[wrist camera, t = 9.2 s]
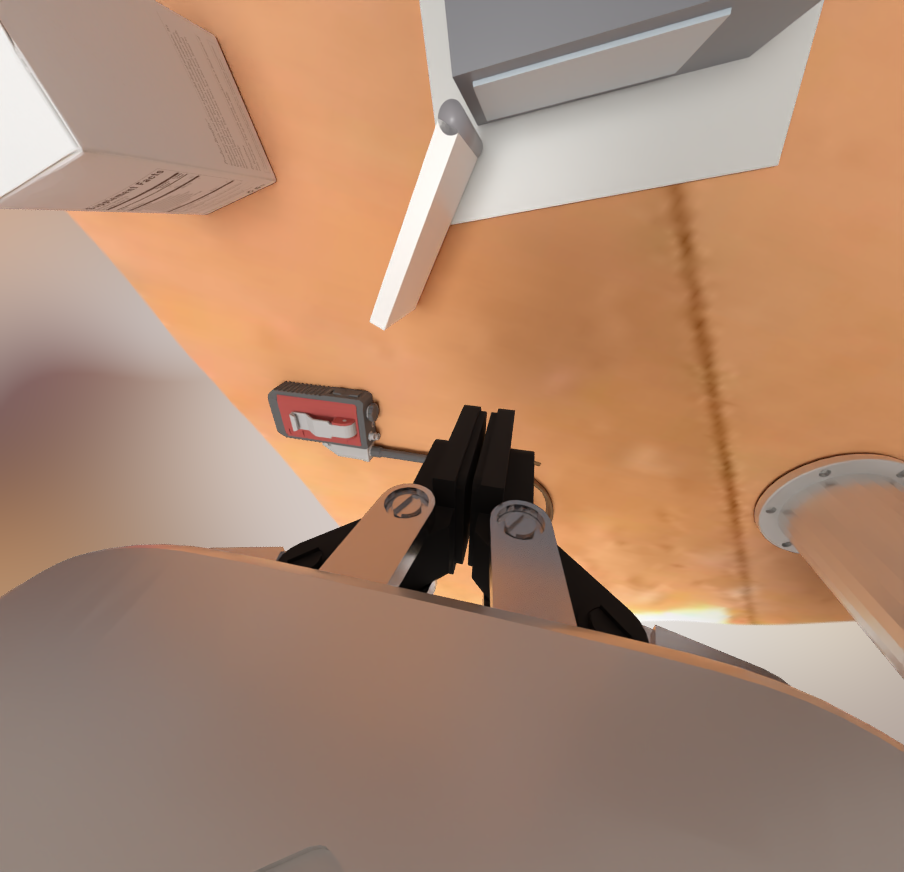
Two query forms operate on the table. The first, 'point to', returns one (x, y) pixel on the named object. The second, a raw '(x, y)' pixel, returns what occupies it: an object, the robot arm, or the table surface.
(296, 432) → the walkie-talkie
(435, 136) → the side door
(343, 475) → the table surface
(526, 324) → the table surface
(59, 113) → the supplement box
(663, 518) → the table surface
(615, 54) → the camera box
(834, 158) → the table surface
